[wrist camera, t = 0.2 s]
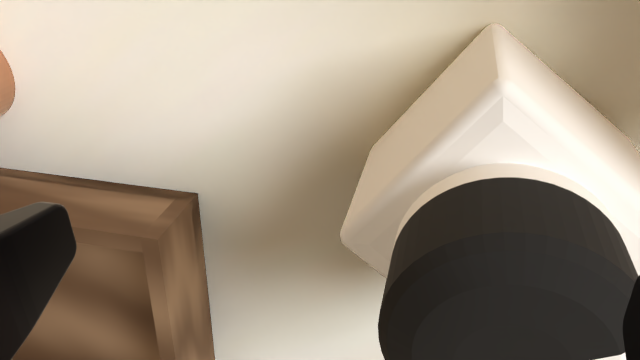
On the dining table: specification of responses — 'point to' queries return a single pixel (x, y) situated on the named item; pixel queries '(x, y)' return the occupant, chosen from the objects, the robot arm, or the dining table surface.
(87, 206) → the tray
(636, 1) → the dining table surface
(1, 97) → the canister
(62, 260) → the robot arm
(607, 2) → the dining table surface
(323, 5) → the dining table surface
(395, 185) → the medicine bottle
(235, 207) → the dining table surface
